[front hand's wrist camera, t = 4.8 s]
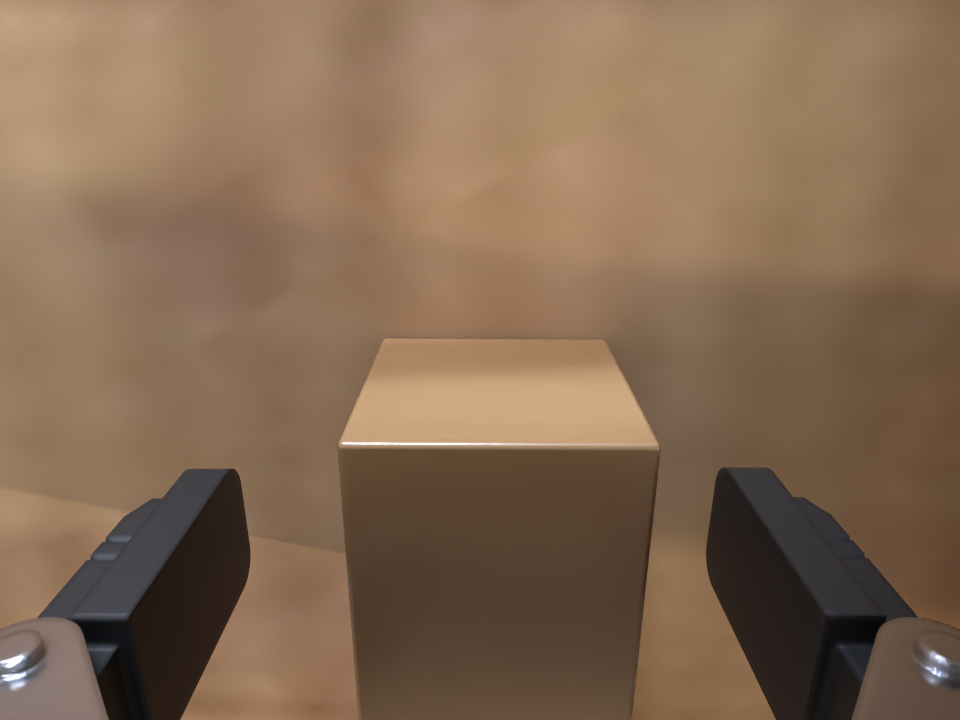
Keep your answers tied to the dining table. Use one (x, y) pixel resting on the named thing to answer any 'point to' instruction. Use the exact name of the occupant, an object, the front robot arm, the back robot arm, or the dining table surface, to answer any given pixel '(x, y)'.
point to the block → (497, 530)
